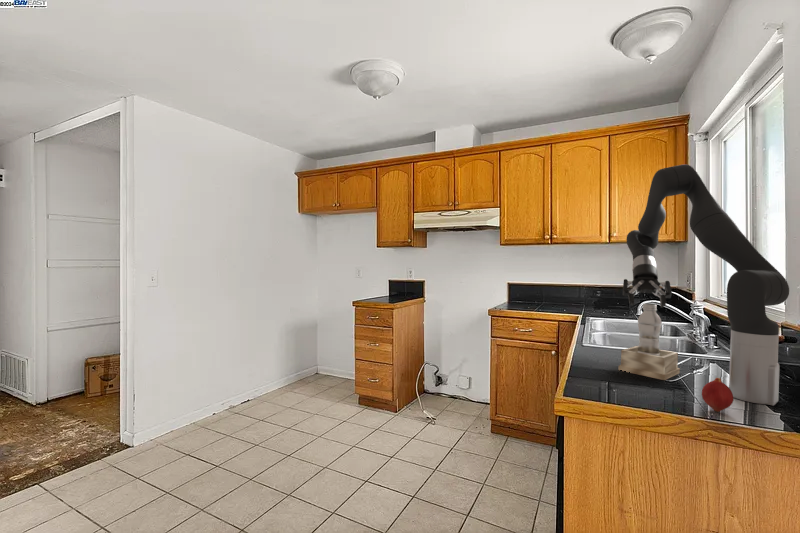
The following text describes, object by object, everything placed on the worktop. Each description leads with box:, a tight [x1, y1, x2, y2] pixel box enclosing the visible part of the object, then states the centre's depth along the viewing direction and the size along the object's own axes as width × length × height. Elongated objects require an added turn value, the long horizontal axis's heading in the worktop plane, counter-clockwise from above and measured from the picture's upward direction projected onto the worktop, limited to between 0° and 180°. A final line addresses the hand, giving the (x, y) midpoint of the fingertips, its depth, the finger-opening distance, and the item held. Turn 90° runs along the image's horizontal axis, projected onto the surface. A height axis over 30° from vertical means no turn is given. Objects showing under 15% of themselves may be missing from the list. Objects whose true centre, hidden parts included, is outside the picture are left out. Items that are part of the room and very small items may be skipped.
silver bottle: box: [637, 303, 662, 356], centre depth 127 cm, size 6×7×20 cm
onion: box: [701, 377, 734, 412], centre depth 93 cm, size 6×6×8 cm
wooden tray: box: [618, 345, 681, 381], centre depth 126 cm, size 13×13×6 cm
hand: (647, 304), depth 133 cm, fingers open, 8 cm apart
